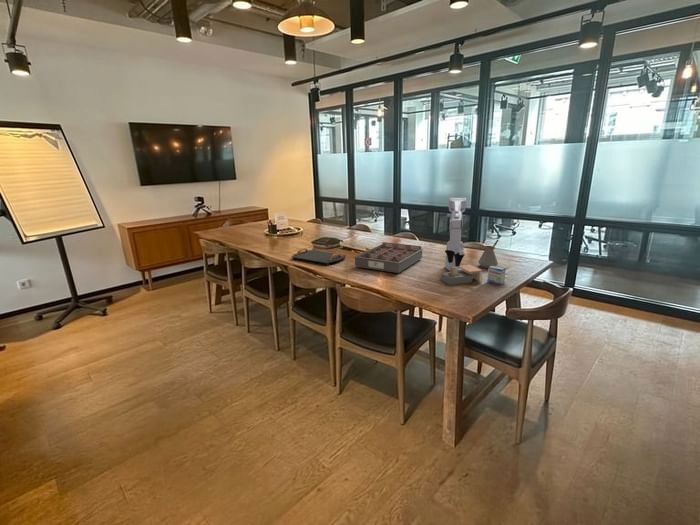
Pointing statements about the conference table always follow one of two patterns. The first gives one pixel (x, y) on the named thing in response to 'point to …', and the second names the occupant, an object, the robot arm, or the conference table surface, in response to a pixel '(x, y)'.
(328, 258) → the serving board
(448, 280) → the socket block
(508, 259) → the conference table surface
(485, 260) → the coffee pot
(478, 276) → the peach slab
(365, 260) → the organizer tray
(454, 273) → the peg
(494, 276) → the medicine box
